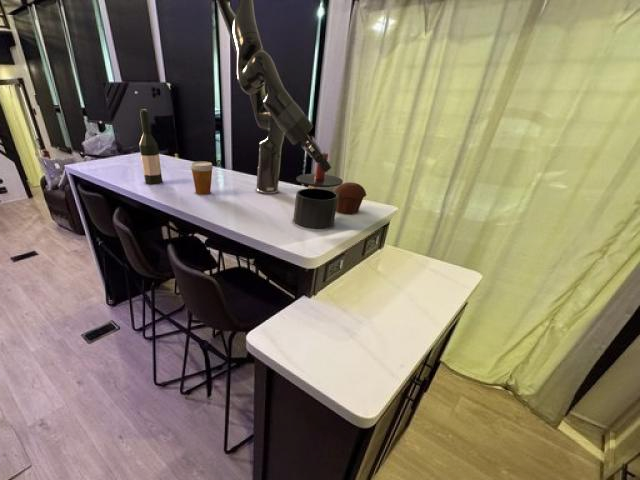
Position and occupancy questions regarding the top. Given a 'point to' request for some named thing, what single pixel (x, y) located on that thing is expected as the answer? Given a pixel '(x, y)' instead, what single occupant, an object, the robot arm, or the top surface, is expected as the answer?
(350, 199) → the muffin
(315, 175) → the lid
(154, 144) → the wine bottle
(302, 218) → the pot
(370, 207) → the top surface
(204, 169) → the disposable coffee cup
